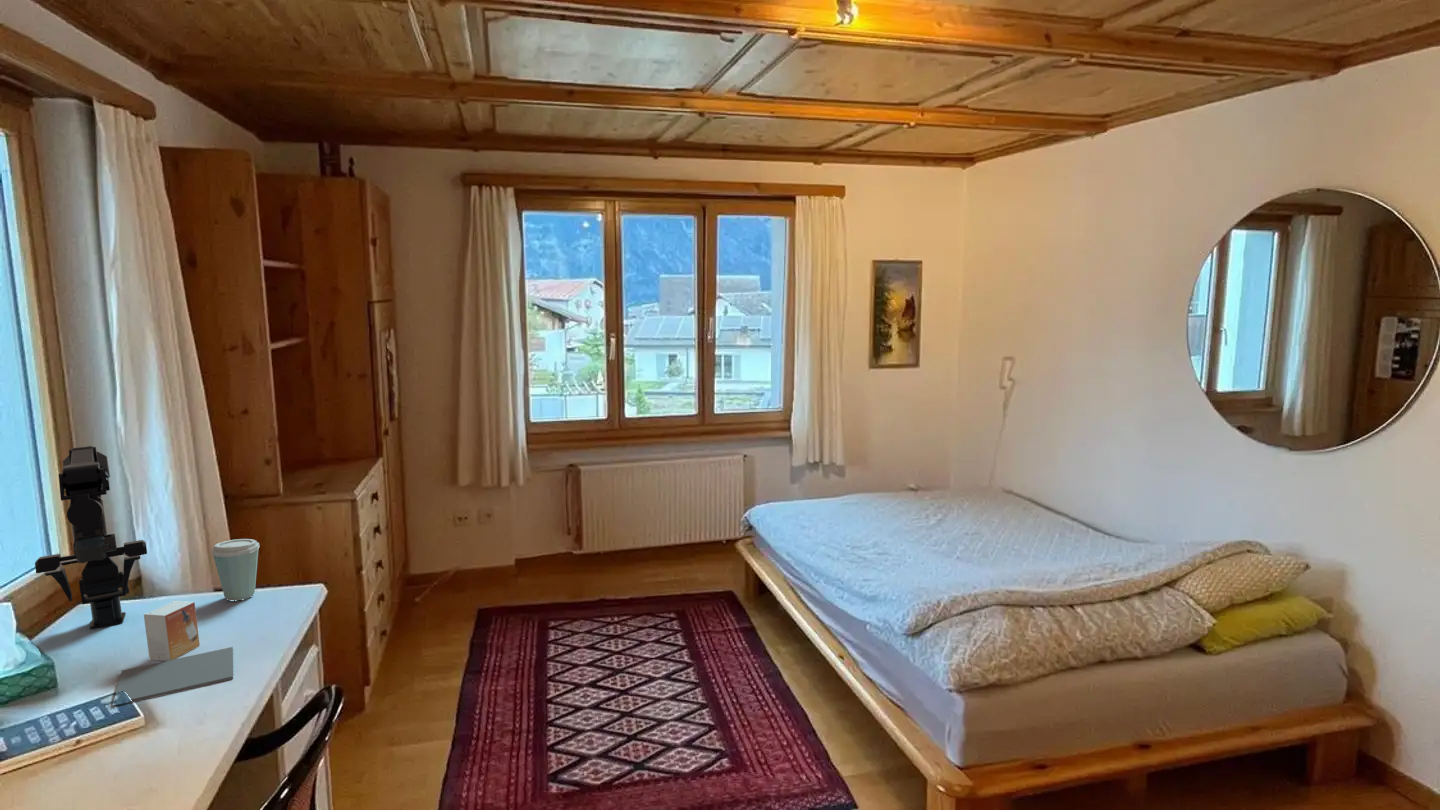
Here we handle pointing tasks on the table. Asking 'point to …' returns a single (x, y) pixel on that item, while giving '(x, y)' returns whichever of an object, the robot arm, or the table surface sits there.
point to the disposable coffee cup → (237, 567)
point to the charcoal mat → (177, 674)
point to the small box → (171, 630)
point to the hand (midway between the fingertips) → (98, 595)
